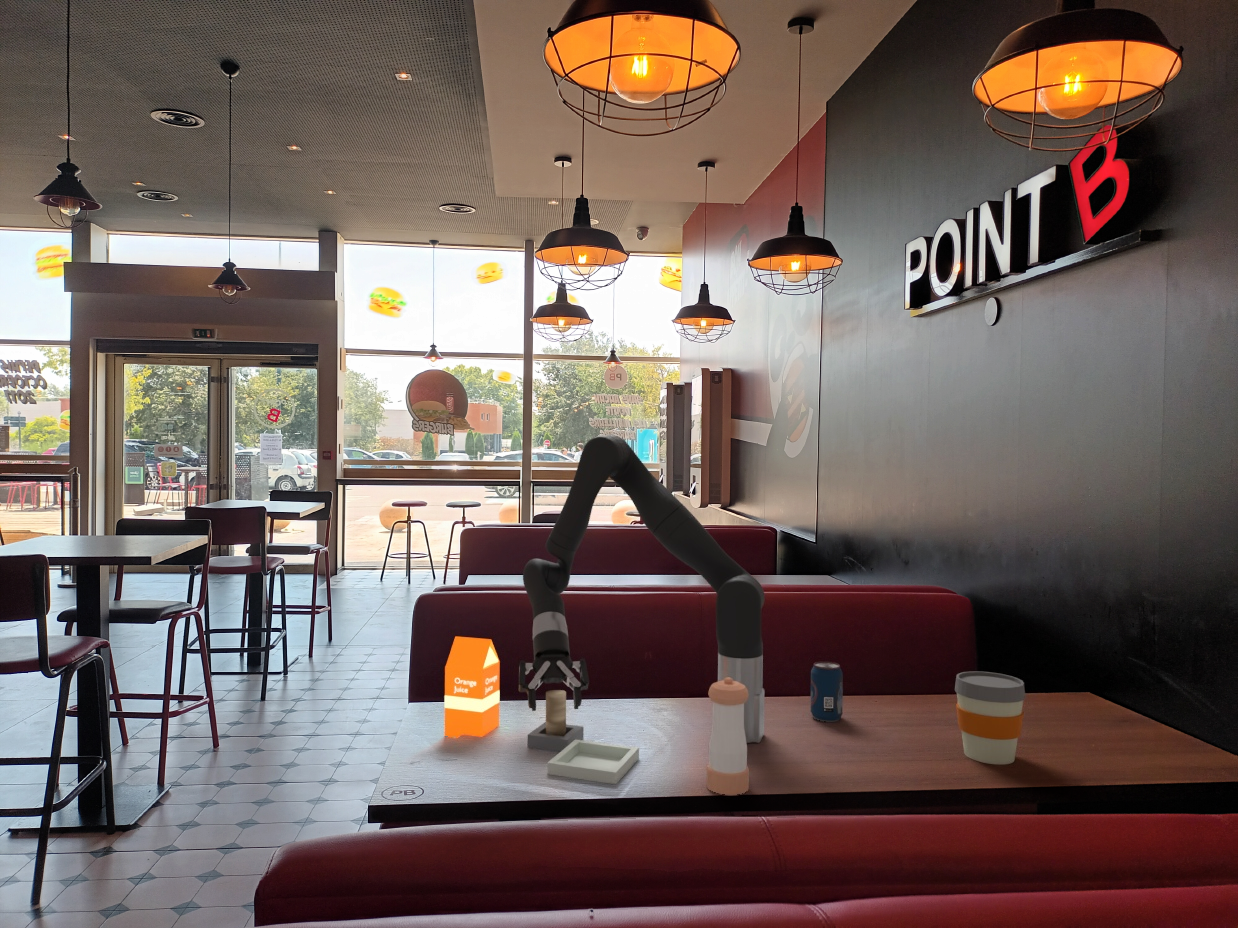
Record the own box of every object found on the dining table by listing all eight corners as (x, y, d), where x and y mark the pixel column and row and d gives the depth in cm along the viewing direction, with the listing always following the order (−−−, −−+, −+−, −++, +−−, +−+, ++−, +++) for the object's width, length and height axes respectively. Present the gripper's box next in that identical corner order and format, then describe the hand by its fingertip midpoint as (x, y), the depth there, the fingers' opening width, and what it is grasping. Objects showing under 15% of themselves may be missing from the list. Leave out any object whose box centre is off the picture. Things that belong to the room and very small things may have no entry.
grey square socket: (583, 743, 160) (583, 726, 161) (566, 757, 153) (567, 739, 153) (545, 738, 163) (545, 721, 163) (527, 752, 155) (527, 734, 155)
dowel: (569, 740, 159) (569, 690, 159) (560, 747, 155) (561, 696, 156) (550, 738, 160) (551, 688, 161) (542, 744, 157) (542, 694, 157)
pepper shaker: (702, 791, 137) (703, 680, 137) (712, 776, 144) (713, 670, 144) (743, 798, 135) (744, 685, 135) (752, 782, 141) (753, 674, 142)
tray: (638, 763, 150) (639, 747, 150) (615, 789, 138) (615, 772, 138) (575, 754, 154) (575, 739, 154) (547, 779, 142) (547, 762, 142)
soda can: (809, 712, 182) (809, 660, 182) (840, 713, 181) (840, 661, 181) (812, 721, 176) (812, 667, 176) (844, 723, 175) (844, 668, 175)
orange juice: (481, 741, 161) (482, 643, 161) (443, 736, 164) (444, 639, 164) (499, 729, 169) (500, 635, 169) (463, 725, 172) (463, 632, 172)
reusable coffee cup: (940, 749, 159) (940, 674, 159) (986, 741, 164) (986, 668, 164) (992, 771, 147) (992, 690, 147) (1040, 762, 152) (1040, 684, 152)
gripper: (517, 629, 166) (520, 700, 155) (585, 627, 169) (593, 697, 157) (516, 649, 171) (518, 719, 160) (581, 646, 174) (588, 715, 163)
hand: (555, 708), depth 159 cm, fingers open, 8 cm apart
